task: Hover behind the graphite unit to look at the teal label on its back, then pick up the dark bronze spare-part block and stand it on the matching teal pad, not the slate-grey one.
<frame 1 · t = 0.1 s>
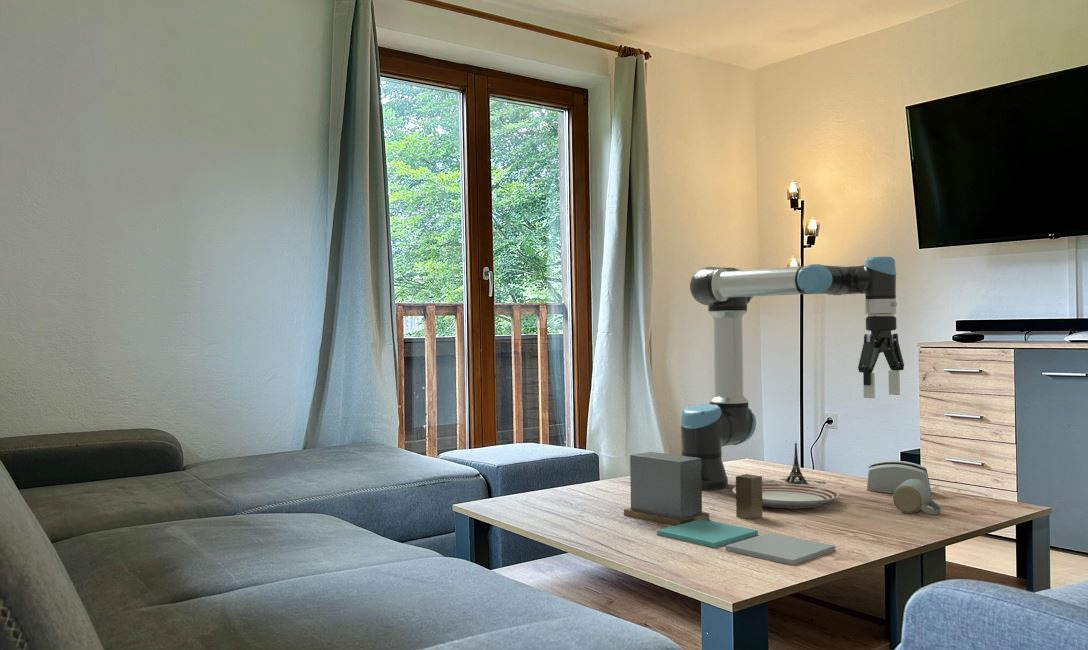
hand: (882, 396, 226), 28 cm above the table, tool pointing down, fingers open, 13 cm apart
teal pad: (707, 534, 195), on the table
ceramic mug: (917, 512, 215), on the table
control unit: (665, 517, 213), on the table
dinner plate: (785, 503, 230), on the table
eiffel tower figurine: (797, 484, 258), on the table
grey pad: (780, 550, 180), on the table
napkin holder: (898, 493, 241), on the table
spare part: (749, 516, 212), on the table
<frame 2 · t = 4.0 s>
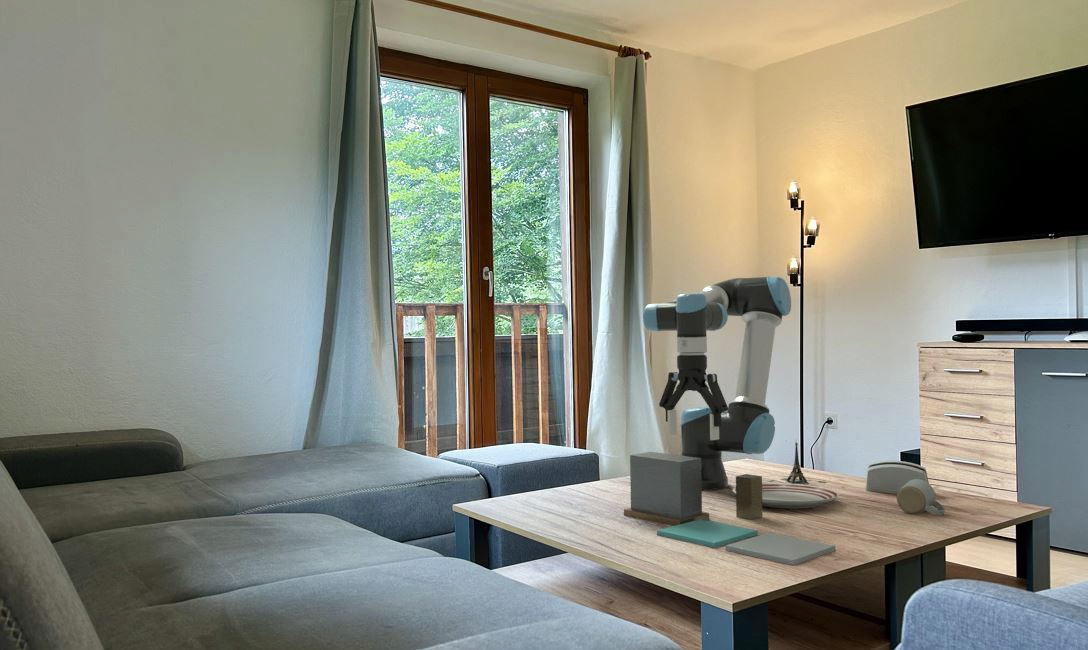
hand: (693, 437, 220), 19 cm above the table, tool pointing down, fingers open, 13 cm apart
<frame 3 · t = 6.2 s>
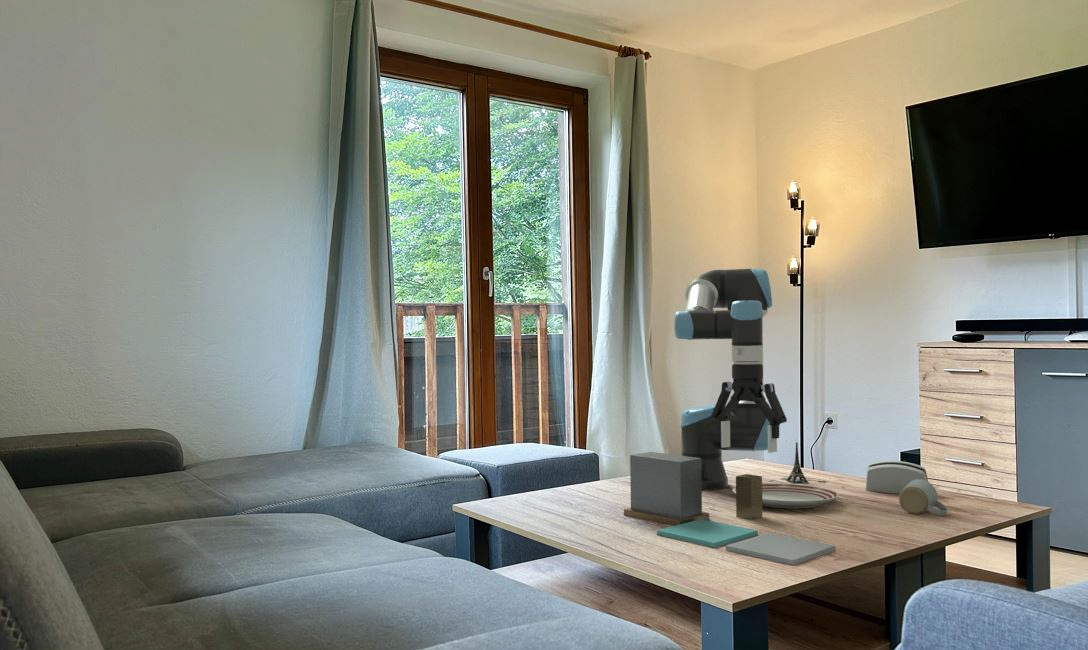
hand: (748, 449, 212), 17 cm above the table, tool pointing down, fingers open, 13 cm apart
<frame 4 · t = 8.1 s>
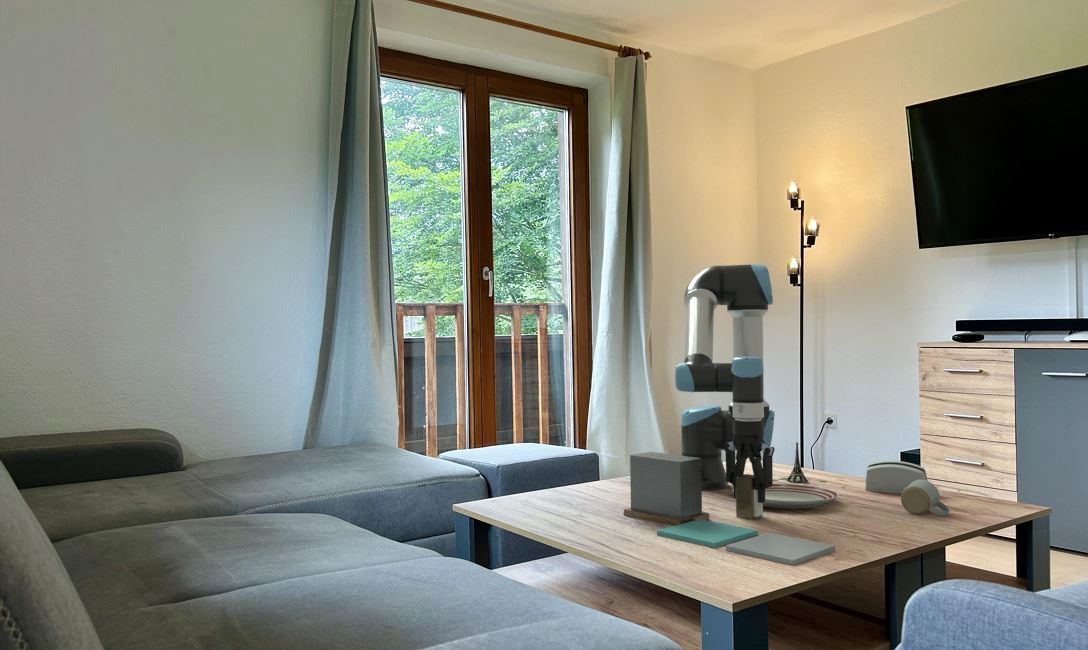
hand: (749, 513, 212), 1 cm above the table, tool pointing down, fingers closed on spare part, 4 cm apart
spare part: (749, 516, 212), on the table, touching gripper
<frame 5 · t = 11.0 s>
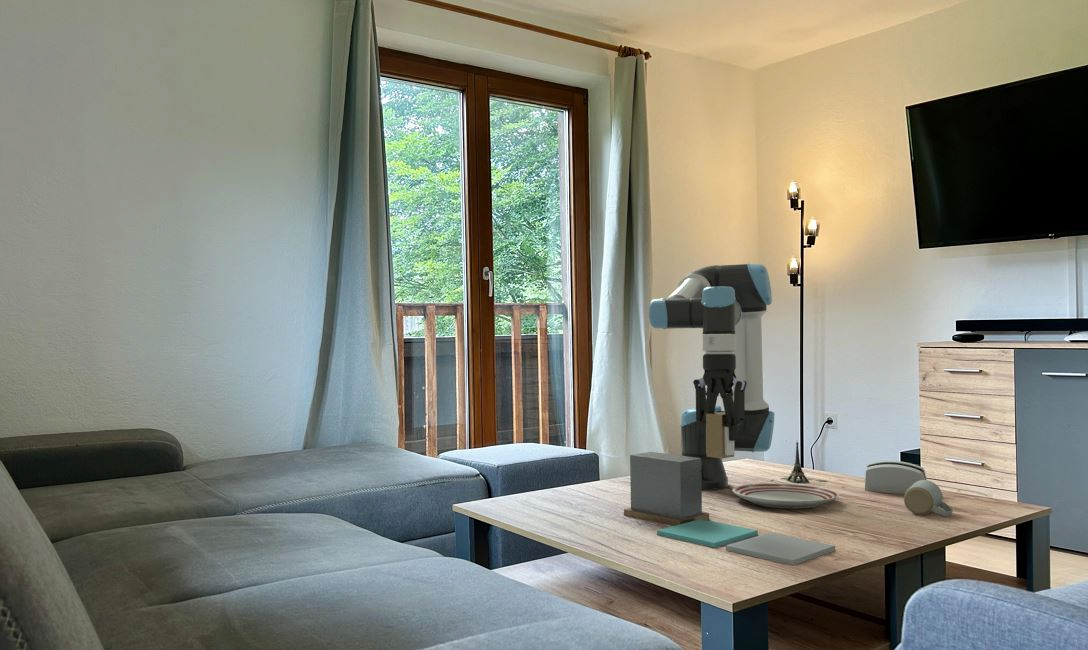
hand: (720, 453, 200), 18 cm above the table, tool pointing down, fingers closed on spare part, 4 cm apart
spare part: (720, 456, 200), point 17 cm above the table, touching gripper
when the fingers open (3 cm above the table, at t = 13.8 s): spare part drops 1 cm, resting on teal pad.
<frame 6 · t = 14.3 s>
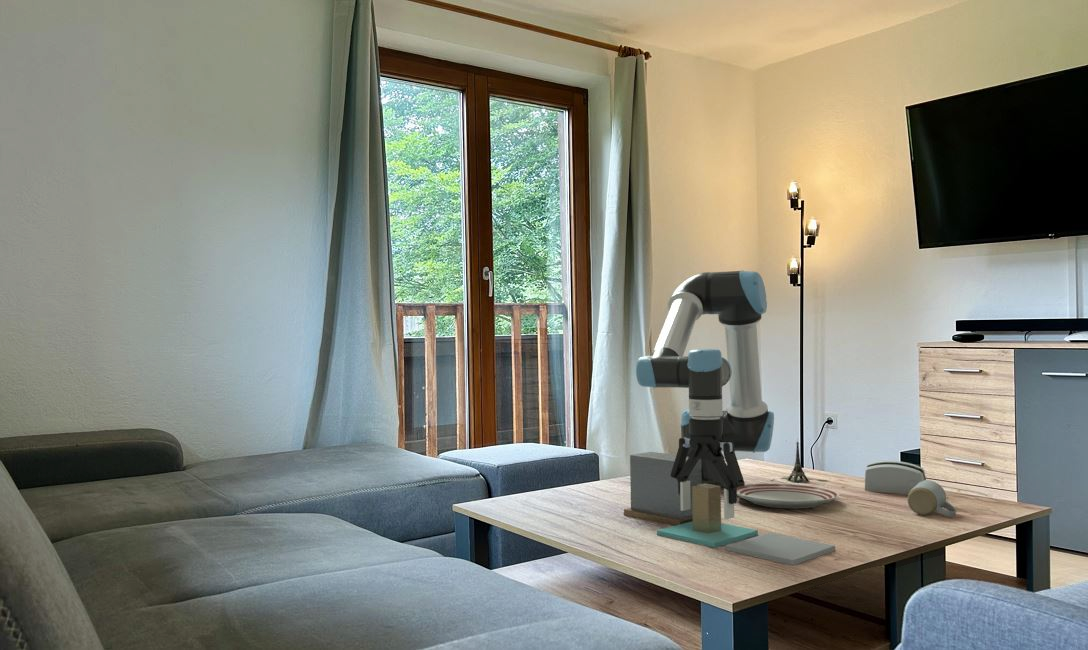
hand: (706, 513, 195), 5 cm above the table, tool pointing down, fingers open, 11 cm apart
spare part: (707, 530, 195), point 1 cm above the table, touching teal pad
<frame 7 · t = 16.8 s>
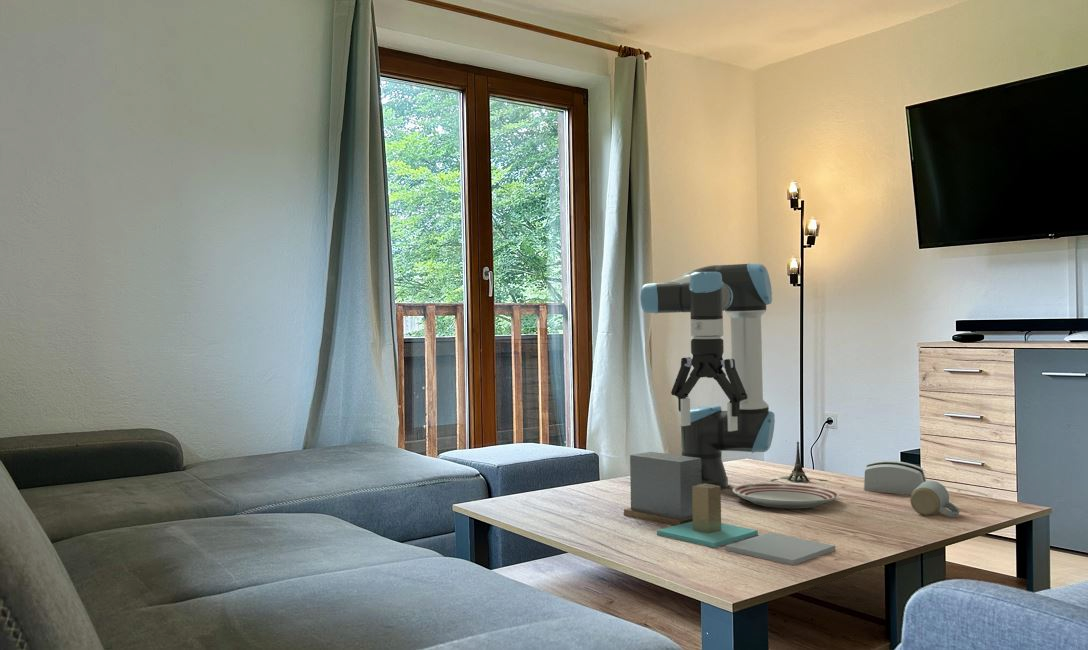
hand: (708, 428, 202), 23 cm above the table, tool pointing down, fingers open, 13 cm apart
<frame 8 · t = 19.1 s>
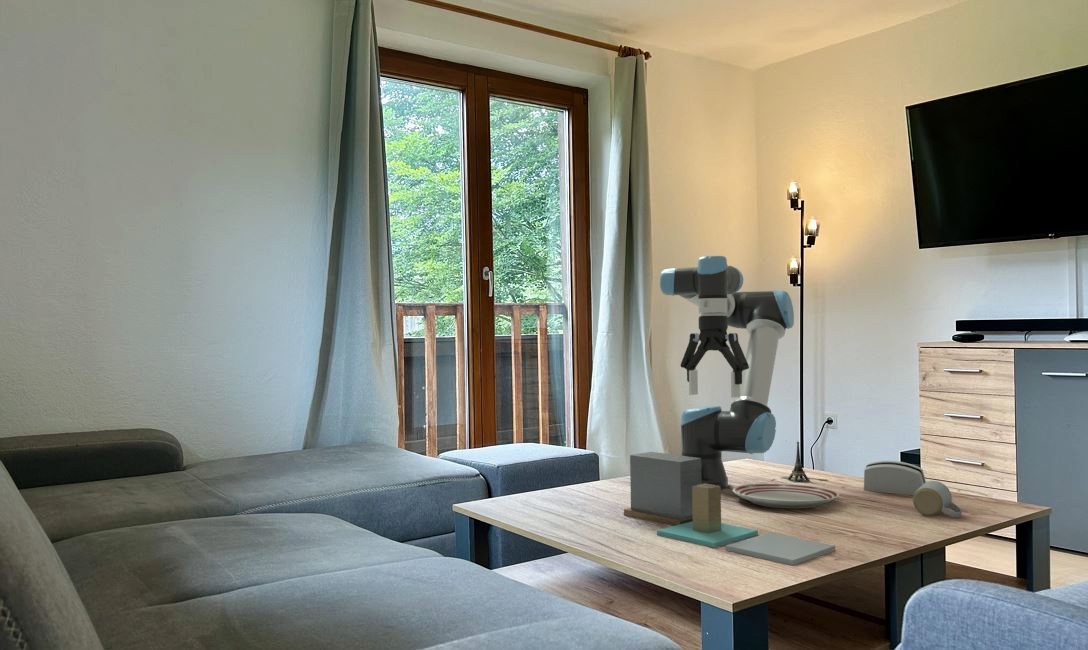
hand: (714, 396, 226), 29 cm above the table, tool pointing down, fingers open, 13 cm apart
at the end: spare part inside the target area on the teal pad (0.1 cm from its centre), point 1.0 cm above the teal pad's base; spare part tilted 0°; the gripper is holding nothing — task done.
